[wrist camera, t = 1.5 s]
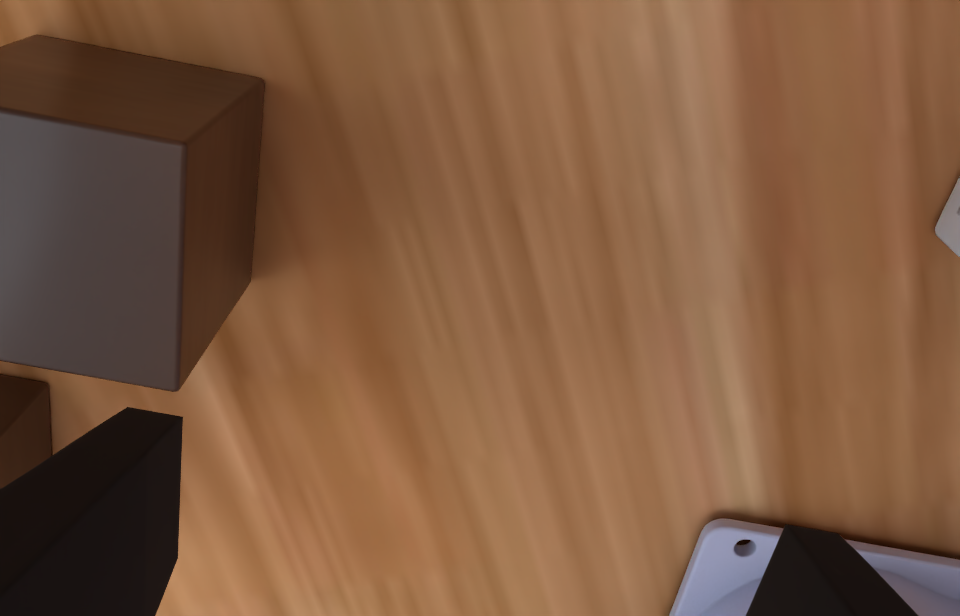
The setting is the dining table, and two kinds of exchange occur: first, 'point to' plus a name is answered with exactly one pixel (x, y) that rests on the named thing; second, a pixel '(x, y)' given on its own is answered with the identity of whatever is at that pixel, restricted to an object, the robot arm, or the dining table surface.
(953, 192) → the supplement box
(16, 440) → the block
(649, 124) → the dining table surface
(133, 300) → the block middle
